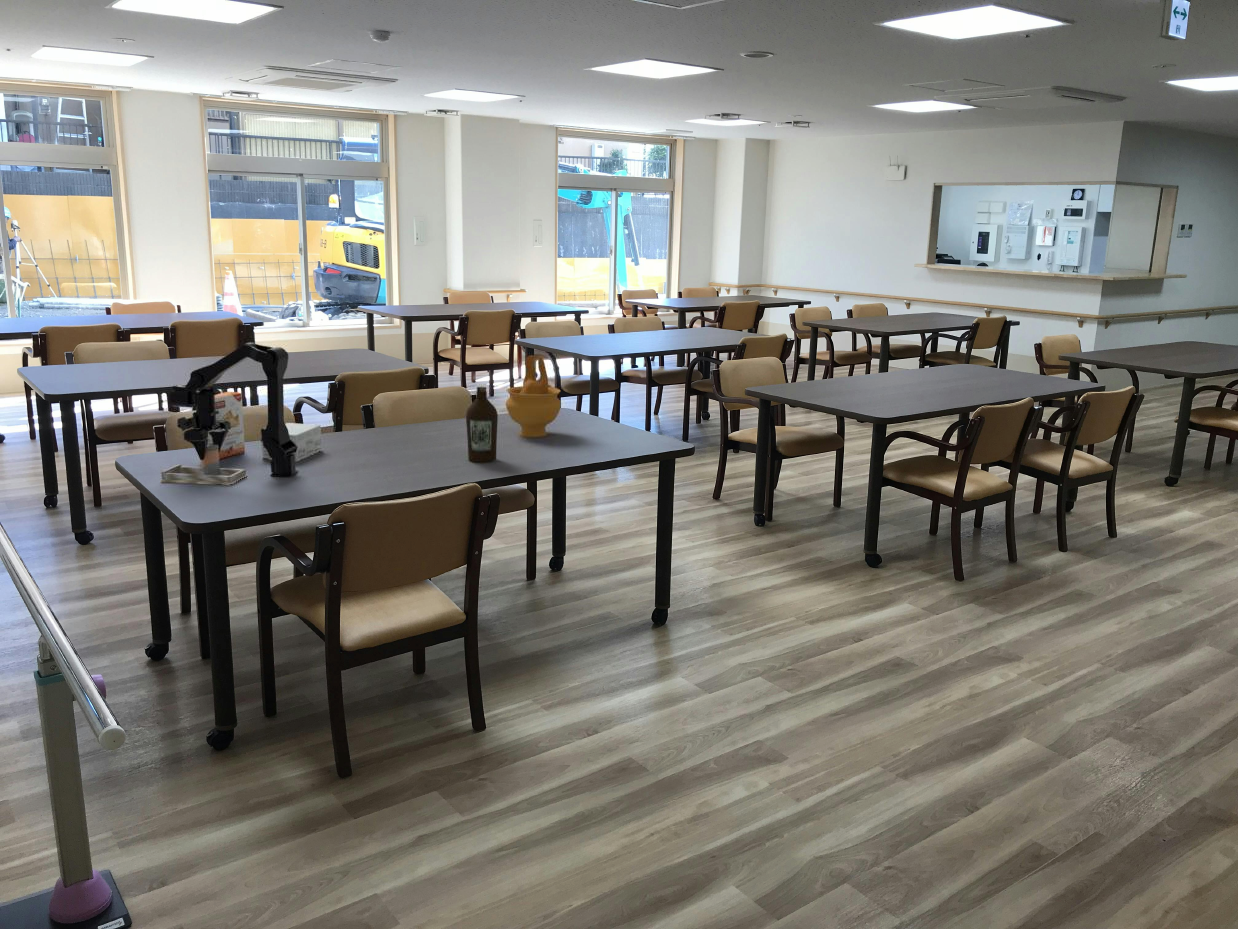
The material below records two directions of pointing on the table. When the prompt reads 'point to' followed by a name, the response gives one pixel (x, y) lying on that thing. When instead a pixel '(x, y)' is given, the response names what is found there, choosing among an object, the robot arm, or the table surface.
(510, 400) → the decorative bowl
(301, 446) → the supplement box
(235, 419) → the cracker box
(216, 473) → the pusher plate
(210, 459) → the jar
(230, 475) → the shallow rectangular tray
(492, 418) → the olive oil
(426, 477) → the table surface
